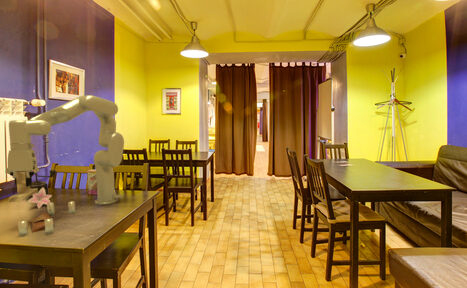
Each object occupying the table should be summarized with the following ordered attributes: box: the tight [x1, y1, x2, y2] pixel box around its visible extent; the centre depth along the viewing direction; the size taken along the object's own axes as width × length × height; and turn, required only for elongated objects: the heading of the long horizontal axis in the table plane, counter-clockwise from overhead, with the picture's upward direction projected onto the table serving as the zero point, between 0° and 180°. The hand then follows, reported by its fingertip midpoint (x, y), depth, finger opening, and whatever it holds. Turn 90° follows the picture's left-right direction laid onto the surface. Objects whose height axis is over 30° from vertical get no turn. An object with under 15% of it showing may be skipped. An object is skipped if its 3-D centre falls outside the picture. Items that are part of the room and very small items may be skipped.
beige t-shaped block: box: [8, 171, 38, 203], centre depth 124 cm, size 4×16×12 cm, turn 12°
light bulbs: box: [17, 200, 76, 237], centre depth 127 cm, size 13×29×6 cm, turn 12°
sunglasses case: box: [29, 211, 55, 233], centre depth 126 cm, size 18×7×7 cm, turn 42°
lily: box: [27, 188, 53, 209], centre depth 153 cm, size 12×12×10 cm
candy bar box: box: [86, 169, 97, 196], centre depth 177 cm, size 11×5×16 cm, turn 86°
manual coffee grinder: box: [26, 169, 57, 201], centre depth 170 cm, size 16×11×18 cm
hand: (23, 185), depth 124 cm, fingers closed on beige t-shaped block, 3 cm apart
